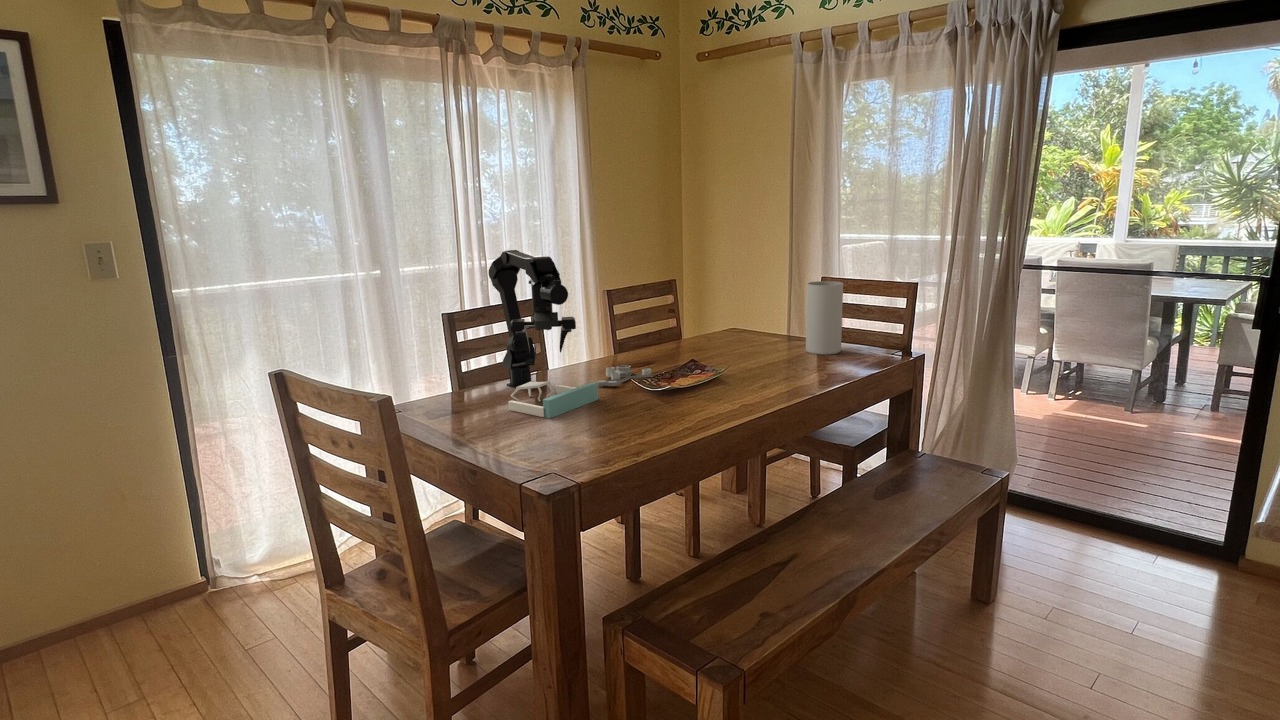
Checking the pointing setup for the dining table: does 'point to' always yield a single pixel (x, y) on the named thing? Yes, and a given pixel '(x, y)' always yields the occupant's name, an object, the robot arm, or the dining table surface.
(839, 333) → the cylinder vase
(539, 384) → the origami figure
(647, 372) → the pulley system
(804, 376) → the dining table surface
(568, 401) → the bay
